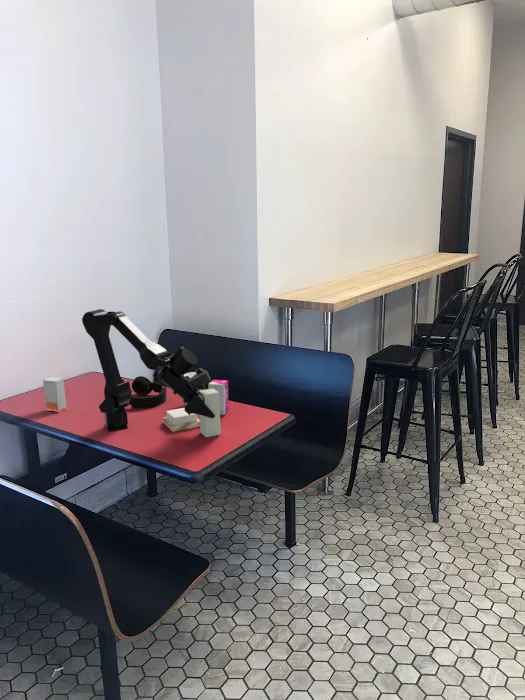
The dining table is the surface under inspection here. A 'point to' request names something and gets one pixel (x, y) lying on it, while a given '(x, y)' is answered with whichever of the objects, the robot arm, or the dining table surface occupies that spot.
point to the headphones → (144, 388)
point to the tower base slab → (180, 425)
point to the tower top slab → (180, 416)
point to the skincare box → (54, 393)
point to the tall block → (212, 401)
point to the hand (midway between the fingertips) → (214, 413)
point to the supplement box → (221, 394)
